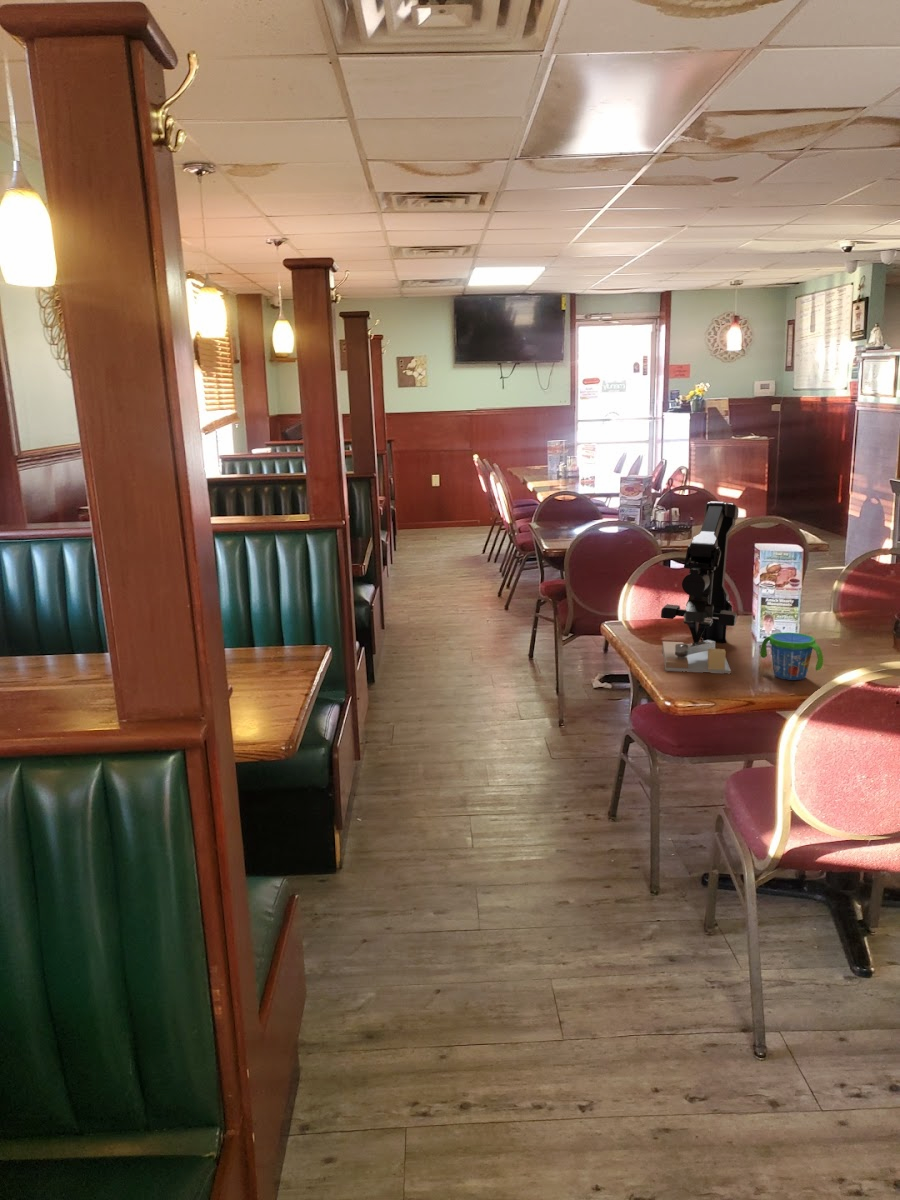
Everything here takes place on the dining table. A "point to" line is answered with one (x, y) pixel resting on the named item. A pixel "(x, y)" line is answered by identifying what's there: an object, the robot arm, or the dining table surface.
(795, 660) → the snack cup
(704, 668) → the door board
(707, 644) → the latch bar
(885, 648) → the dining table surface
